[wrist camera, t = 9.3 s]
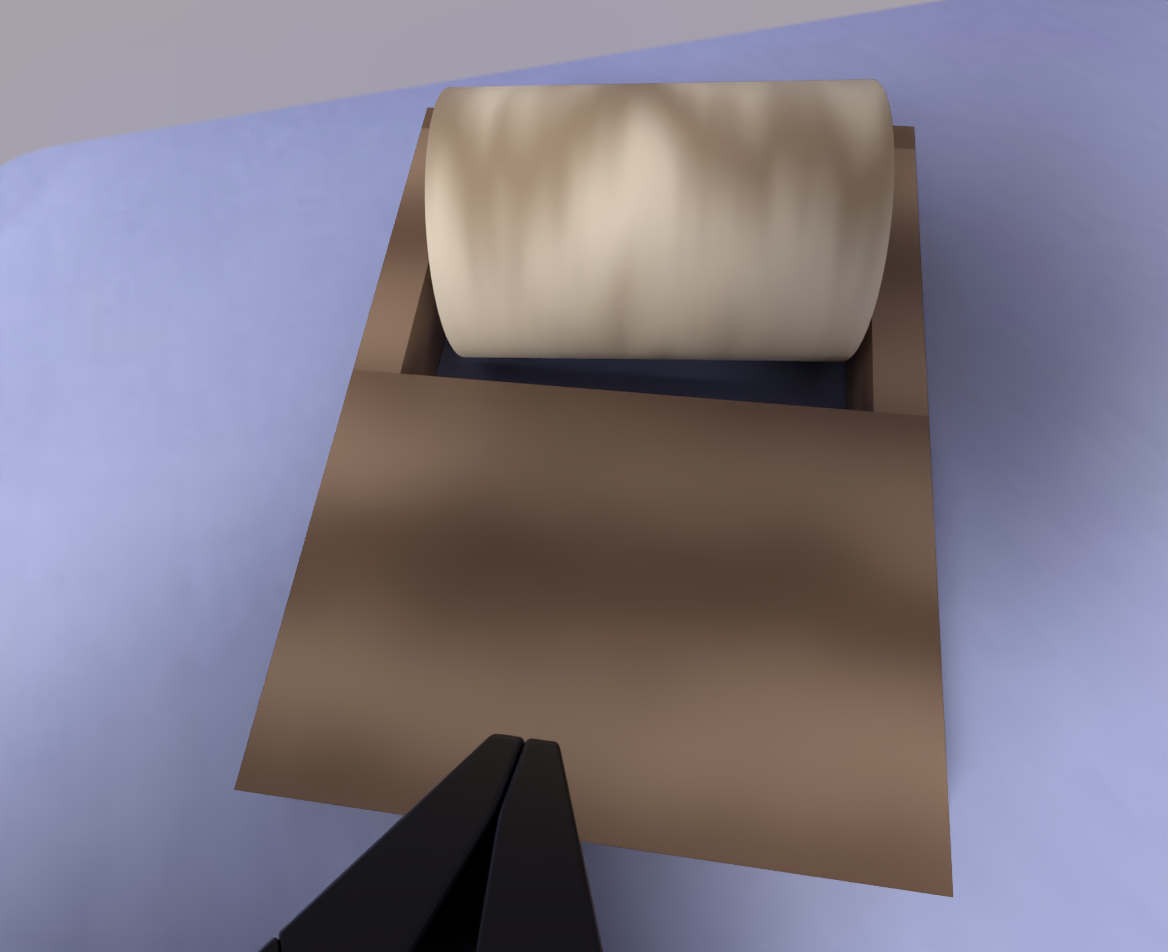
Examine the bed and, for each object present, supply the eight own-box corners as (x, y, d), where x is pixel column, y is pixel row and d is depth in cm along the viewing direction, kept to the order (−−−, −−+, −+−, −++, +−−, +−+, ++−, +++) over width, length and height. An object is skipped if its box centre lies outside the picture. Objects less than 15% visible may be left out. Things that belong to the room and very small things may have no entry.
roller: (876, 12, 21) (813, 219, 28) (449, 23, 22) (496, 220, 29) (909, 242, 17) (829, 407, 25) (407, 243, 18) (473, 402, 26)
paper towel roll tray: (908, 881, 19) (953, 897, 16) (286, 789, 21) (234, 789, 18) (886, 192, 28) (914, 126, 25) (446, 170, 30) (427, 107, 27)
